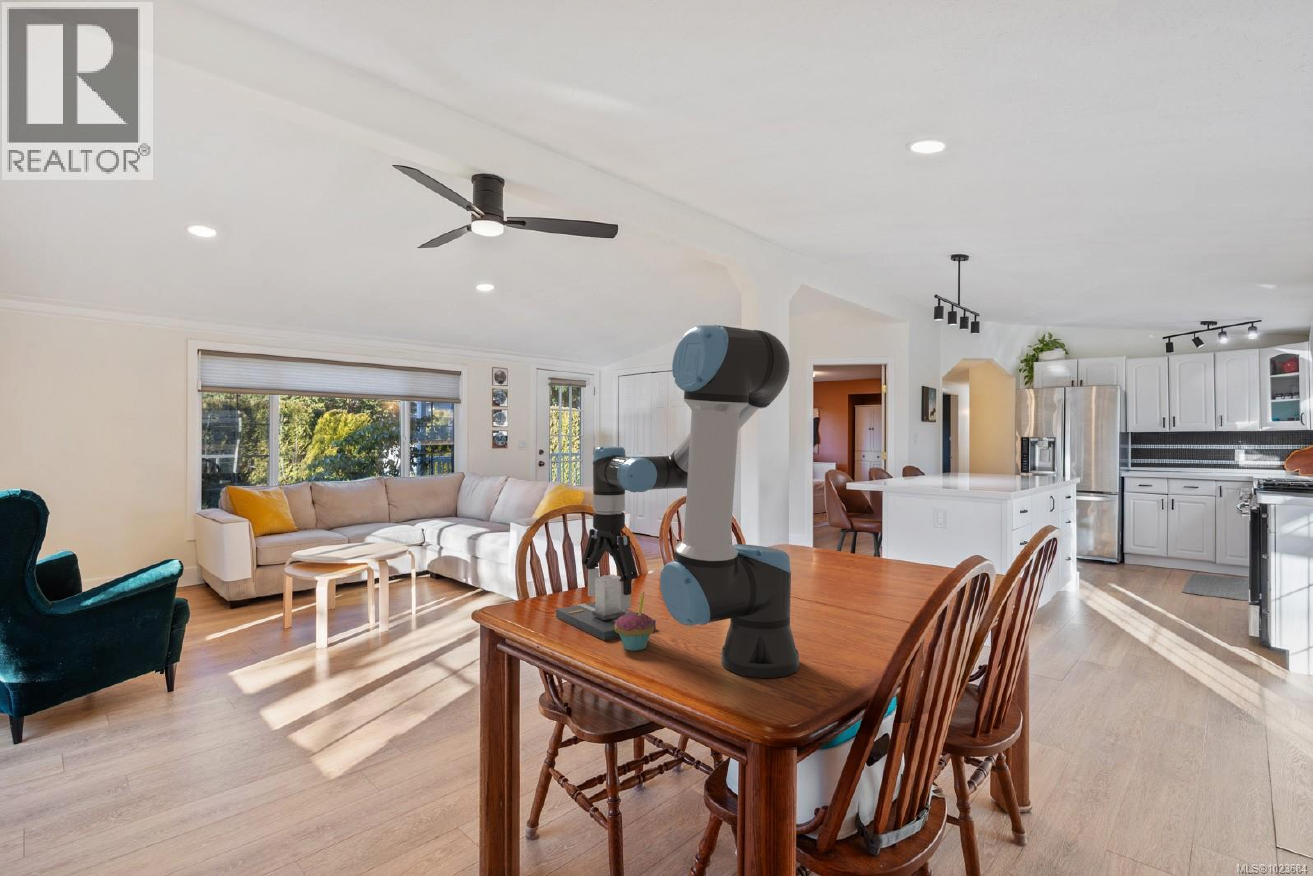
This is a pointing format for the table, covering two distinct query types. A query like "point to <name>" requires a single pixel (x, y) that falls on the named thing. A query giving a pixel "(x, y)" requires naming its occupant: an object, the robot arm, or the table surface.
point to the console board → (590, 621)
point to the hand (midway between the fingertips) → (608, 601)
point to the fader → (607, 597)
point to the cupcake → (634, 629)
